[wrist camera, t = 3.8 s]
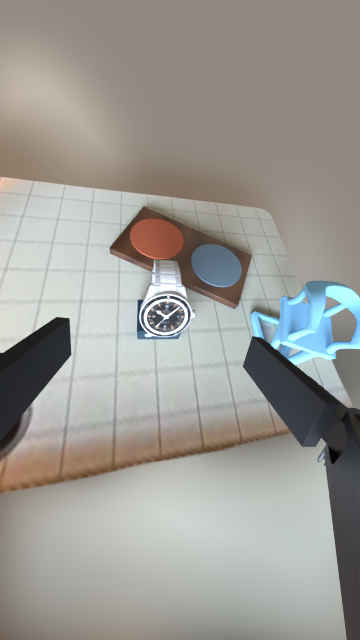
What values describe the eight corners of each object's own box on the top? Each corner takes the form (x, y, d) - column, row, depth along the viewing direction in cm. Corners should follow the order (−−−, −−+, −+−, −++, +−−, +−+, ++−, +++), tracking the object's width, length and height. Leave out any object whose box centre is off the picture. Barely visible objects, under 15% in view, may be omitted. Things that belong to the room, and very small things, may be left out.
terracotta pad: (119, 244, 29) (119, 242, 29) (145, 212, 33) (145, 211, 33) (171, 267, 29) (172, 266, 29) (190, 233, 33) (190, 232, 33)
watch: (137, 353, 24) (134, 319, 14) (138, 299, 27) (137, 240, 17) (179, 352, 25) (204, 319, 15) (175, 301, 28) (194, 246, 18)
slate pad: (183, 272, 29) (183, 271, 29) (200, 237, 33) (201, 236, 33) (234, 295, 29) (235, 294, 29) (245, 258, 33) (246, 257, 33)
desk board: (110, 253, 29) (109, 247, 28) (143, 212, 35) (143, 206, 34) (234, 309, 30) (238, 305, 29) (248, 259, 35) (252, 255, 34)
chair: (245, 361, 26) (318, 332, 16) (250, 312, 30) (311, 262, 19) (294, 376, 27) (396, 359, 16) (293, 326, 31) (375, 285, 20)
